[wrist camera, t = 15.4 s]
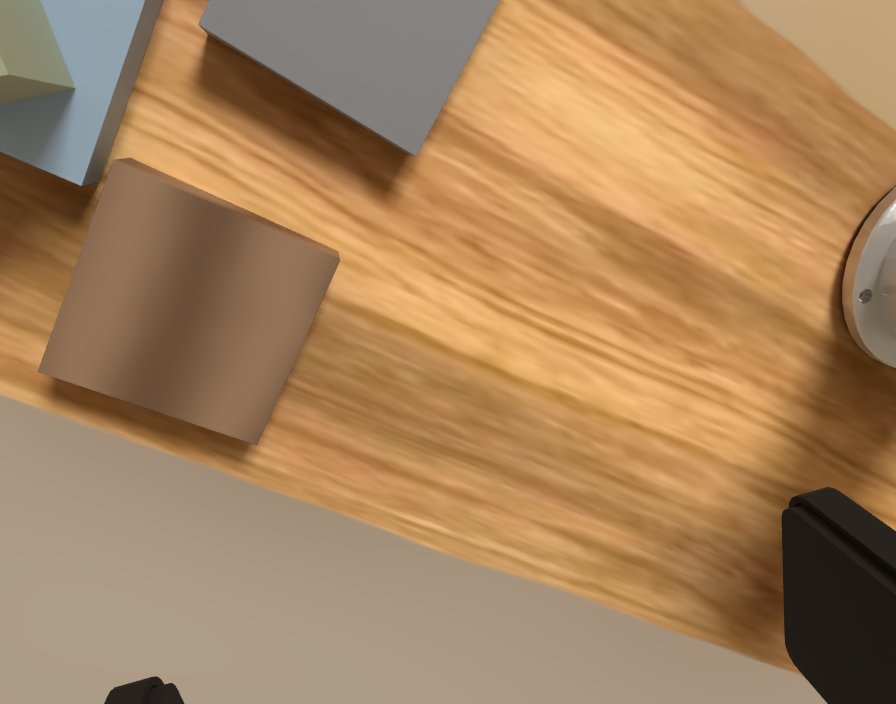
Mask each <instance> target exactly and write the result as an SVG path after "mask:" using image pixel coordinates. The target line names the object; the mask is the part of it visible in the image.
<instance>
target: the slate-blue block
mask: <svg viewBox="0 0 896 704" xmlns="http://www.w3.org/2000/svg"><path fill="white" fill-rule="evenodd" d="M41 3H42V5H43V8H44V10H45V13H46V15H47V18H48V20H49V23H50V25H51V28H52V30H53V33H54V35H55V38H56V40H57V43H58V45H59V48H60V50H61V53H62V55H63V58H64V60H65V63H66V65H67V68H68V70H69V73H70V75H71V78H72V80H73V83H74V85H75V89H71V90H66V91H62V92H57V93H53V94H48V95H44V96H39V97H35V98H30V99H26V100H21V101H17V102H12V103H8V104H3V105H0V152H2V153H4V154H7V155H9V156H11V157H14V158H16V159H19V160H21V161H23V162H26V163H28V164H30V165H33V166H35V167H38V168H40V169H42V170H45V171H47V172H49V173H52V174H54V175H57V176H59V177H61V178H64V179H66V180H68V181H71V182H73V183H76V184H78V185H80V186H84V185H89V184H94V183H98V182H100V180H101V178H102V175H103V172H104V169H105V166H106V163H107V160H108V158H109V155H110V152H111V149H112V146H113V143H114V140H115V137H116V135H117V132H118V129H119V126H120V123H121V120H122V117H123V115H124V112H125V109H126V106H127V103H128V100H129V97H130V94H131V92H132V89H133V86H134V83H135V80H136V77H137V74H138V72H139V69H140V66H141V63H142V60H143V57H144V54H145V51H146V49H147V46H148V43H149V40H150V37H151V34H152V31H153V29H154V26H155V23H156V20H157V17H158V14H159V11H160V8H161V6H162V3H163V0H41Z"/></svg>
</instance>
